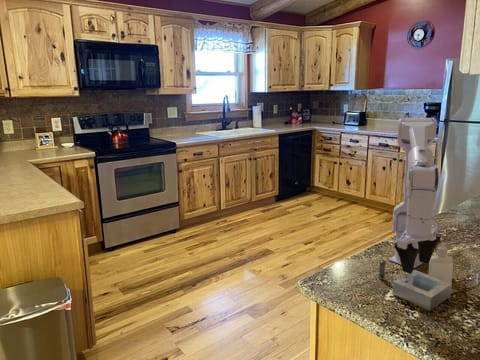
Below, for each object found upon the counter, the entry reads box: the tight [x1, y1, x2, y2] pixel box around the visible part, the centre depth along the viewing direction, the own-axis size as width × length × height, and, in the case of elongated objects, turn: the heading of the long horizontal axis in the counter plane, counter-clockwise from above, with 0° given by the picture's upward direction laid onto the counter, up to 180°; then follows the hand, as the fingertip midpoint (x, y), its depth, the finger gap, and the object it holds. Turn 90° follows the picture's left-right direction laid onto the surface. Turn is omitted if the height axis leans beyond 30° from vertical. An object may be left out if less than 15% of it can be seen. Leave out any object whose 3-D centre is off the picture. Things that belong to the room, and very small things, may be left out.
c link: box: [391, 269, 453, 311], centre depth 97 cm, size 10×10×4 cm
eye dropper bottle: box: [427, 242, 454, 284], centre depth 102 cm, size 4×6×12 cm
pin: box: [378, 259, 387, 279], centre depth 107 cm, size 2×2×5 cm
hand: (415, 267), depth 93 cm, fingers open, 7 cm apart
